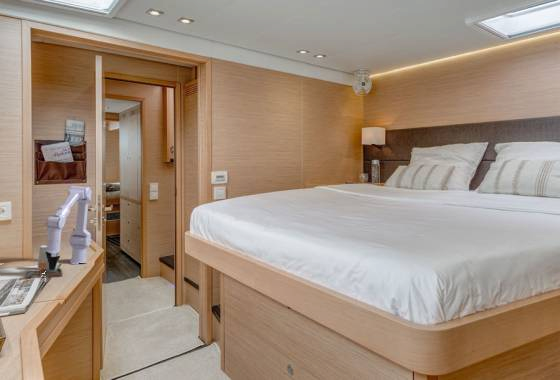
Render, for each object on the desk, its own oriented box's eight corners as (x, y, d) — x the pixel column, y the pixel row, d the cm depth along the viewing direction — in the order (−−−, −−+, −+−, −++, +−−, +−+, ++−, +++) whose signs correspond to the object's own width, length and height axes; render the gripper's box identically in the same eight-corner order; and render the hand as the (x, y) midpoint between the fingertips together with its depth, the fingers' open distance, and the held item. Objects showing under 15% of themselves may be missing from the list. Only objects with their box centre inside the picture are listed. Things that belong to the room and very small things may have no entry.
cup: (45, 272, 179) (46, 260, 178) (56, 271, 181) (57, 259, 181) (45, 275, 175) (46, 262, 174) (57, 274, 177) (58, 262, 177)
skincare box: (37, 270, 183) (39, 246, 183) (40, 267, 187) (42, 245, 187) (50, 270, 185) (52, 247, 184) (53, 268, 189) (55, 245, 188)
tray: (39, 272, 179) (39, 269, 179) (60, 271, 184) (60, 268, 184) (40, 277, 172) (40, 274, 172) (62, 276, 177) (62, 272, 177)
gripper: (43, 237, 181) (41, 264, 181) (45, 243, 169) (42, 272, 170) (59, 237, 185) (57, 263, 186) (62, 243, 173) (59, 271, 174)
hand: (51, 267), depth 178 cm, fingers open, 7 cm apart
